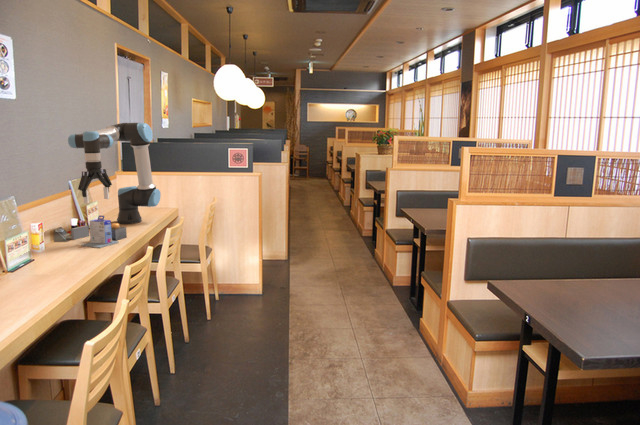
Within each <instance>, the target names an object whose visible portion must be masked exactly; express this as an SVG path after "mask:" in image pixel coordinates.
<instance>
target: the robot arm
mask: <svg viewBox="0 0 640 425" xmlns="http://www.w3.org/2000/svg"><path fill="white" fill-rule="evenodd" d="M153 137H154V134H153V131H152V128H151V126H150V125H149V124H148V123H145V122H121V123H120V122H119V123H116V124H113V125H108V126H106V127H105V128H102V129H98V130H88V131H83V133H78V134H77V133H75V134H74V133H73V134H70V135H69V136H68V138H67V143H68V145H69V147H70V148H73V149H83V151H84V160H85V169H86V171H85V170H84V171H81V177H80V181H79V184H78V186H77V187H78V188H77V190H78V191H80V192H81V197H82V198H83V203H84V204H89V203H90V198H89V191H88V188H89V187H90V184H91V182H92V181H93V180H96V179H98V181H99V182H100V183H101V184H102V185H103V199H104V200H110V195H109V194H110V188H111V186H112V185H113V184H112V182H111V179H110V177H109V175H108V174H107V169H105V168H102V161H101V160H102V155H101V150H103V149H109V148H112V146H113V145H114V142H126V143H127V142H128V143H130V145H129V146H130V147H132V148H133V154H134V161H135V168H136V174H137V175H136V176H137V180H138V181H137V182H138V185H137V186H136V185H132V186H125V187H120V188H118V189H117V201H118V213H117V217H116V223H119V225H128V224H129V225H130V224H138V223H141V222H142V221H143V218H142V216H141V214H140V211H139V207H145V208H146V207H147V208H151V207H152V208H153V207H157V206H158V205H159V203H160V201H161V197H162V196H161V190H160V189H158V188H157V185H156V184H155V183H154V181H153V174H152V168H151V167H152V166H151V159H150V153H149V146H150V145H151V142H152V141H153Z"/></svg>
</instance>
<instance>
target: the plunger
mask: <svg viewBox="0 0 640 425" xmlns="http://www.w3.org/2000/svg"><path fill="white" fill-rule="evenodd" d="M119 227H120V224H119V223H117V222H114V223H113V222H112V223H111V228H113V229H117V228H119Z"/></svg>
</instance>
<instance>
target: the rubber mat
mask: <svg viewBox="0 0 640 425" xmlns="http://www.w3.org/2000/svg"><path fill="white" fill-rule="evenodd" d="M119 242H120V240H117V241H114V240H112V242H110V243H107V244H100V243H91V241H90V242H87V243H86V242H85V243H82V244H80V246H81V247H86V248H87V247H89V248H94V249H95V248H97V249H101V248H105V247H108V246H112V245H115V244H119Z"/></svg>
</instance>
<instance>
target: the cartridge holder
mask: <svg viewBox="0 0 640 425" xmlns="http://www.w3.org/2000/svg"><path fill="white" fill-rule="evenodd" d="M70 234H71V240H75V241H76V240H78V239H82V238H87V237H90V228H89V225H81V226H77V227H74V228H73V227H72V228H70ZM90 241H91V238H90Z"/></svg>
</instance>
